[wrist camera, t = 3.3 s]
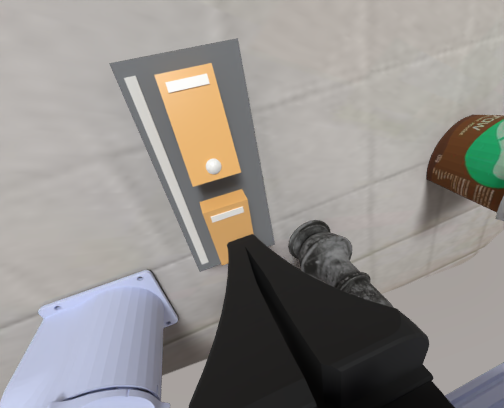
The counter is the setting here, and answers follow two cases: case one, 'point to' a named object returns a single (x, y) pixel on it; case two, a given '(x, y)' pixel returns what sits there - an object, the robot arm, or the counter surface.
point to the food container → (472, 161)
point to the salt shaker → (331, 261)
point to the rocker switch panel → (167, 149)
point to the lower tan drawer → (227, 220)
